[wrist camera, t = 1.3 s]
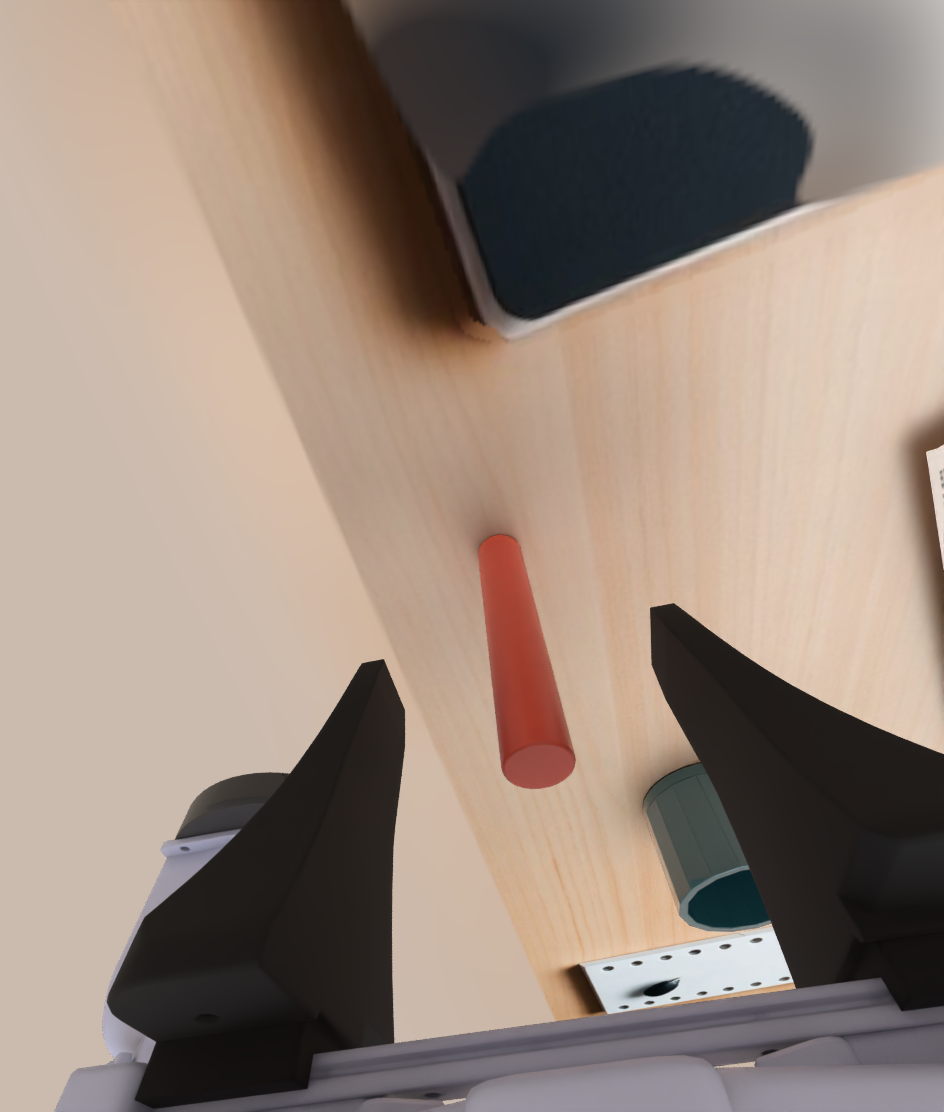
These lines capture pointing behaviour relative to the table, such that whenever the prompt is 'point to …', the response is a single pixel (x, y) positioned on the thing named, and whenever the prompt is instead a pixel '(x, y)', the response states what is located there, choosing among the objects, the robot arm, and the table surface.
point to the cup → (702, 854)
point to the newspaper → (938, 489)
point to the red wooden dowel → (521, 673)
